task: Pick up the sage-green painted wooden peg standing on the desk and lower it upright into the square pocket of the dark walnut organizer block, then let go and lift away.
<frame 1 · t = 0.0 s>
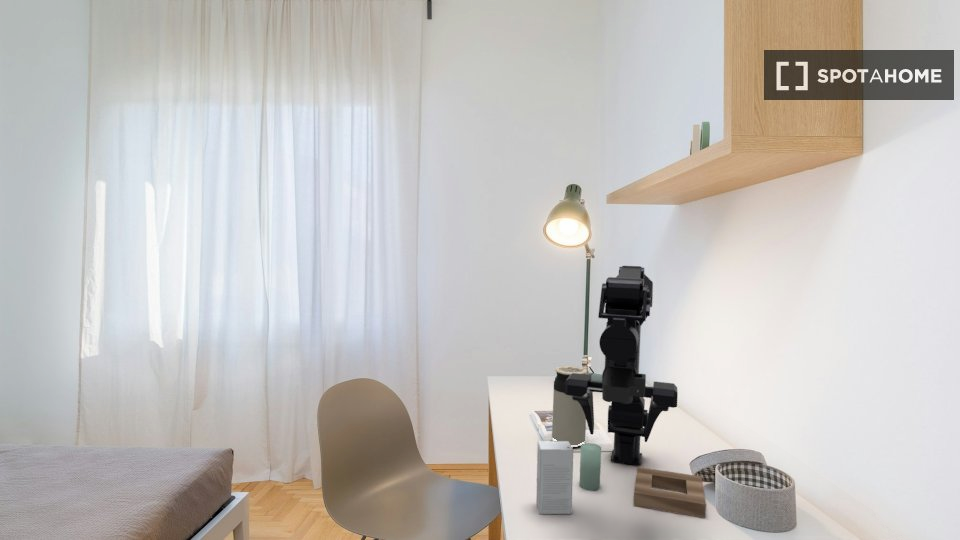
hand: (618, 437, 97), 15 cm above the table, fingers open, 9 cm apart
skincare box: (553, 510, 100), on the table
walnut holder: (668, 496, 106), on the table
travel mug: (568, 443, 133), on the table
green peg: (589, 485, 110), on the table
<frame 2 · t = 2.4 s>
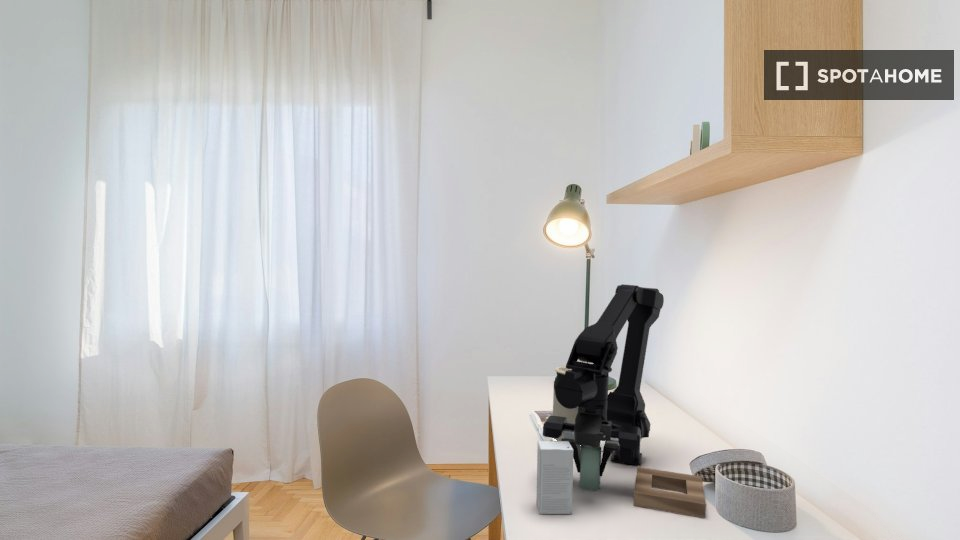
hand: (590, 473, 110), 3 cm above the table, fingers closed on green peg, 4 cm apart
green peg: (589, 485, 110), on the table, touching gripper
everything else where it was.
when the fingers open (4 cm above the table, at t = 8.4 s): green peg stays where it is, resting in walnut holder.
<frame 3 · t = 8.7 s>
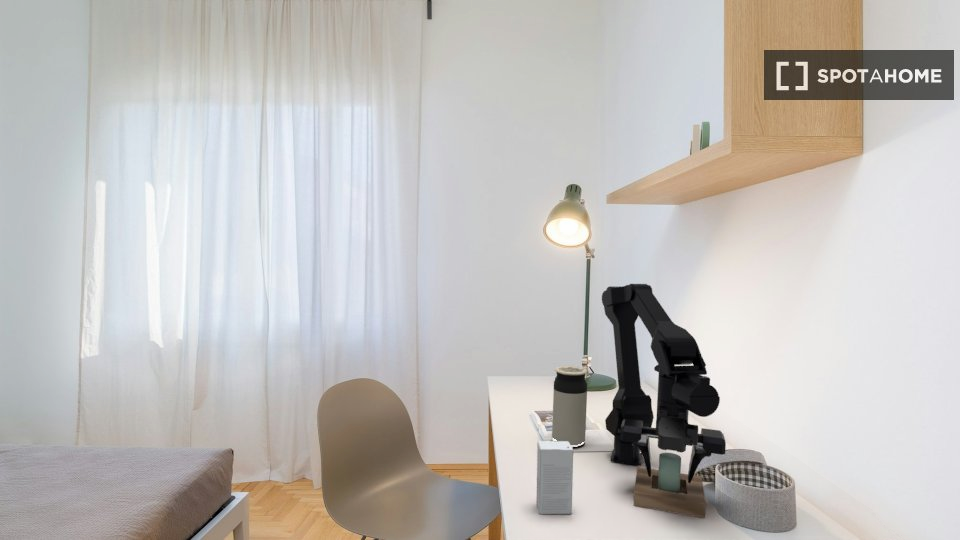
hand: (669, 479, 106), 4 cm above the table, fingers open, 7 cm apart
green peg: (668, 497, 106), resting in walnut holder
everything else where it was.
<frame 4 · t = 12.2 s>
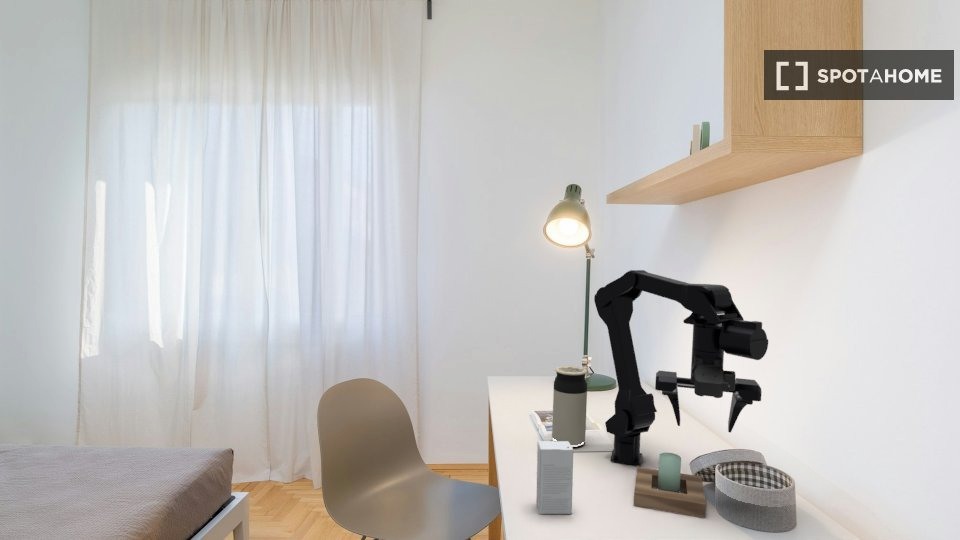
hand: (703, 428, 107), 13 cm above the table, fingers open, 9 cm apart
nothing on the table moved.
at the end: green peg 0.1 cm off-centre on the walnut holder, point 0.0 cm above the walnut holder's base; green peg tilted 0°; the gripper is holding nothing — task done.
